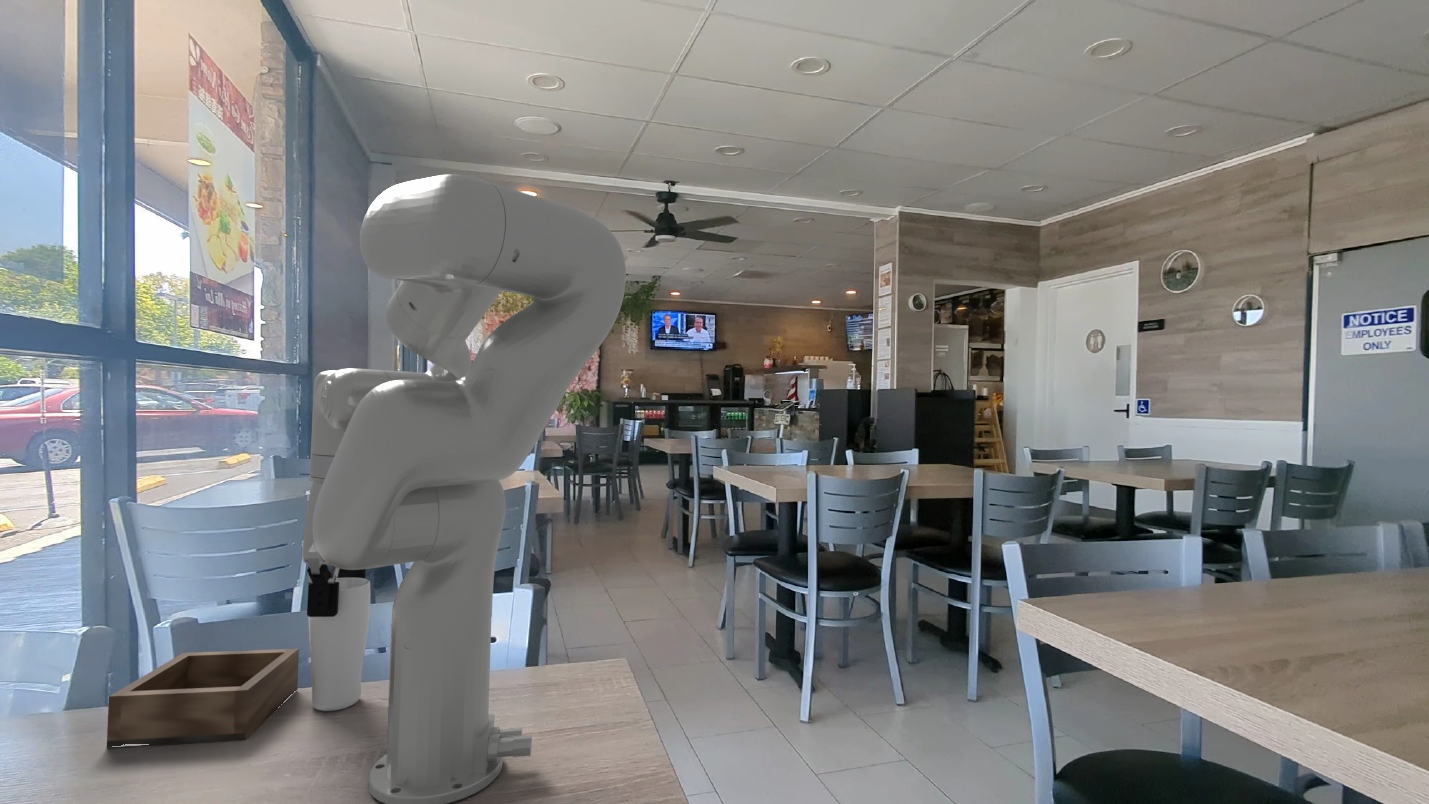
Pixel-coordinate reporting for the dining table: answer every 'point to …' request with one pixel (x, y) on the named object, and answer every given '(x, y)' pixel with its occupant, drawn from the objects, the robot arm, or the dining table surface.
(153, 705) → the caddy
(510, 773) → the dining table surface
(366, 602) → the drinking glass
